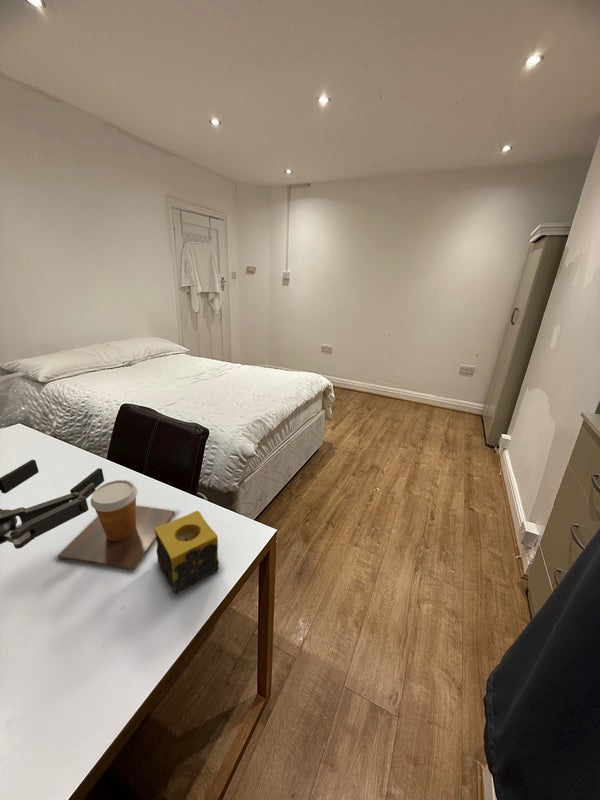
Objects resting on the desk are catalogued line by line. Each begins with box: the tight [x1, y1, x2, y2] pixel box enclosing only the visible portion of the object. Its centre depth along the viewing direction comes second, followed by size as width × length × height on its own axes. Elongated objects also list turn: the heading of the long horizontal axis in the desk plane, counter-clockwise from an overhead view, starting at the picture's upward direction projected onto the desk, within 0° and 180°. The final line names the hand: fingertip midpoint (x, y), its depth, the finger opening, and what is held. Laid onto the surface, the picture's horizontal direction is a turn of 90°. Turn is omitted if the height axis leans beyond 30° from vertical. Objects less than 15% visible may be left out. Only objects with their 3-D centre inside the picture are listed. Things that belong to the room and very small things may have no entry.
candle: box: [154, 510, 220, 595], centre depth 69 cm, size 10×10×10 cm
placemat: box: [57, 505, 176, 571], centre depth 78 cm, size 18×18×1 cm
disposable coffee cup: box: [89, 479, 138, 541], centre depth 76 cm, size 10×10×12 cm
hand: (68, 470), depth 60 cm, fingers open, 13 cm apart
